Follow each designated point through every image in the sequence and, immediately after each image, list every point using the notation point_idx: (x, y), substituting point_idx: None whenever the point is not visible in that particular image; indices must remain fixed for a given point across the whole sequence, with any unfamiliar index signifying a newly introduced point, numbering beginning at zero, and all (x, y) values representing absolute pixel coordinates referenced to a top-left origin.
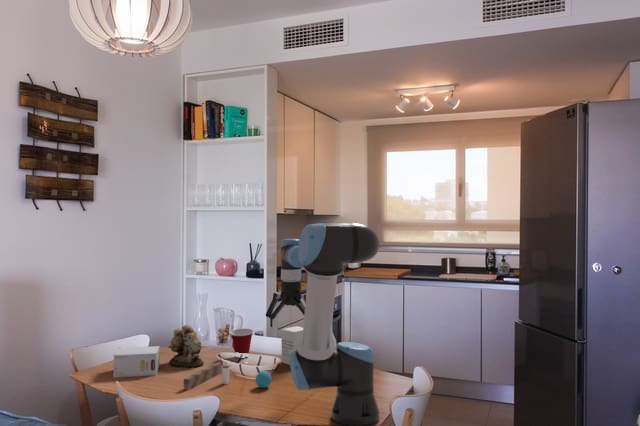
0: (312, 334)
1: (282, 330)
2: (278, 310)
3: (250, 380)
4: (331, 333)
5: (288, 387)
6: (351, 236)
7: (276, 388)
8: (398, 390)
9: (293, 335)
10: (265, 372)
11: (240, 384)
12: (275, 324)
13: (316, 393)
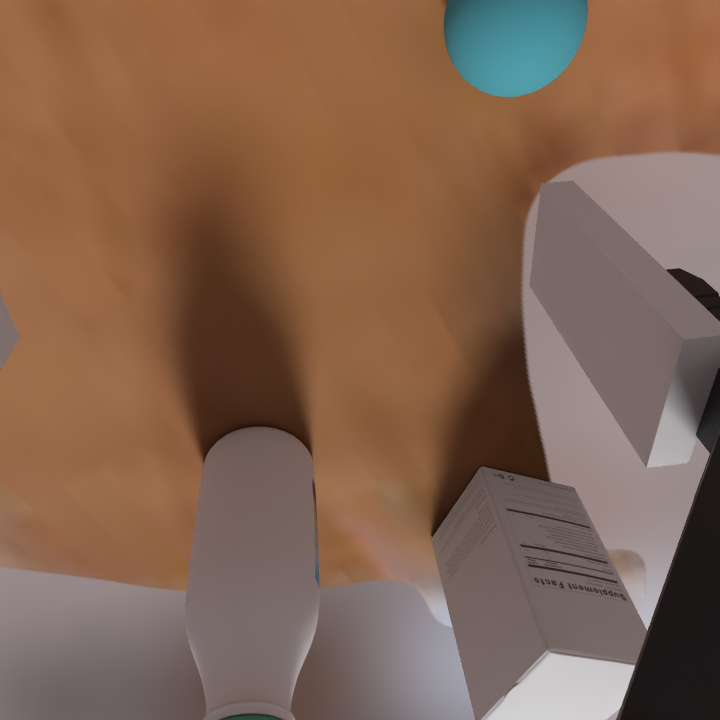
0: None
1: None
2: (685, 548)
3: (653, 130)
4: (204, 688)
5: (319, 105)
6: None
7: (391, 40)
8: None
9: (543, 627)
10: (511, 26)
11: (701, 4)
12: (612, 326)
13: (46, 66)
